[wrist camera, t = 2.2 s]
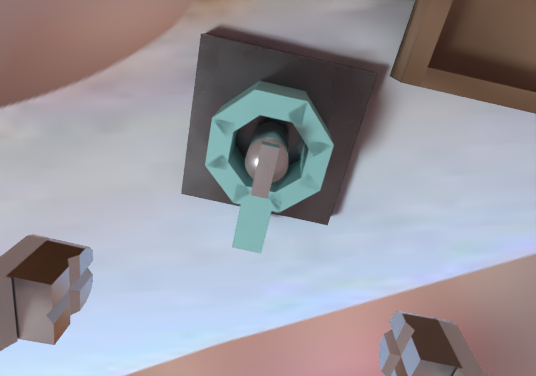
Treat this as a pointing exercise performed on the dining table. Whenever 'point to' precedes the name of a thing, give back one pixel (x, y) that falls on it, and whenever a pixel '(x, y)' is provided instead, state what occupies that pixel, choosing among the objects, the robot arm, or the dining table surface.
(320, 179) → the teal ring
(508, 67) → the walnut tray
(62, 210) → the dining table surface
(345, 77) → the post stand
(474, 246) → the dining table surface
